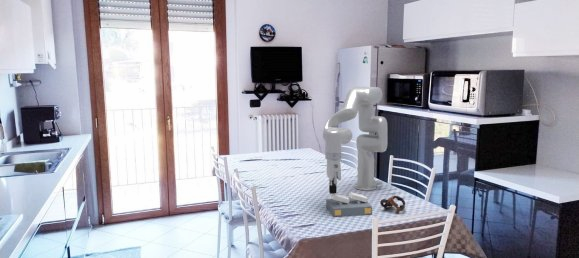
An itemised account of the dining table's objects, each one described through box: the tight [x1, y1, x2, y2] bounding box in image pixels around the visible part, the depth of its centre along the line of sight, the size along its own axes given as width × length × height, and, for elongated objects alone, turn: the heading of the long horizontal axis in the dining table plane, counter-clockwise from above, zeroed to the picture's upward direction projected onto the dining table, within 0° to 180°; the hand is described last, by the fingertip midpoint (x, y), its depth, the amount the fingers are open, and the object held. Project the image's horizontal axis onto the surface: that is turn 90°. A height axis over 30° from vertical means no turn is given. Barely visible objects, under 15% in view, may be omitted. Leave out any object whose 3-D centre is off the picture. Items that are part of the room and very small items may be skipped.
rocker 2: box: [348, 191, 368, 203], centre depth 191 cm, size 8×4×2 cm, turn 99°
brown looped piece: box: [379, 195, 406, 215], centre depth 191 cm, size 12×10×8 cm
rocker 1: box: [330, 193, 350, 204], centre depth 190 cm, size 8×4×2 cm, turn 99°
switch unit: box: [325, 197, 373, 218], centre depth 191 cm, size 19×14×5 cm
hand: (332, 193), depth 189 cm, fingers closed
